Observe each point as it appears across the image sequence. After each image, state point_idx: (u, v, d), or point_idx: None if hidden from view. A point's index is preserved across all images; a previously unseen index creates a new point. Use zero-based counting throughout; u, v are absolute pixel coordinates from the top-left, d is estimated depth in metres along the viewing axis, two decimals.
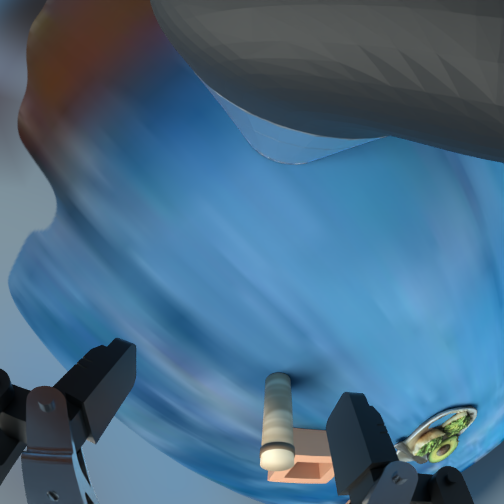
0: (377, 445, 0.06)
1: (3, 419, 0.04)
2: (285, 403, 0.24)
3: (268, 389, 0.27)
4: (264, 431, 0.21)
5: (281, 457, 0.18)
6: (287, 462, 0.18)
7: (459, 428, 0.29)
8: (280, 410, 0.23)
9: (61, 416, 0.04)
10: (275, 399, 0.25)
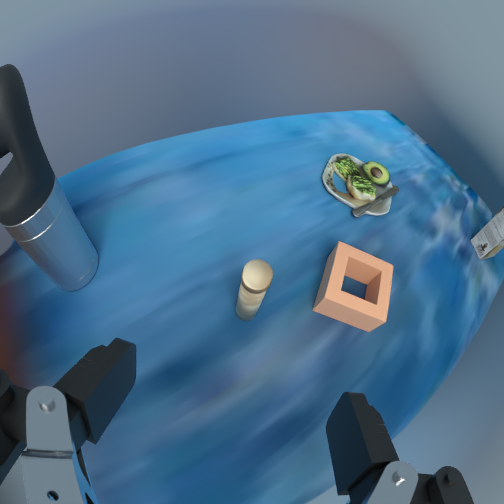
0: (377, 445, 0.06)
1: (3, 419, 0.04)
2: None
3: (239, 311, 0.35)
4: (245, 296, 0.30)
5: (244, 267, 0.28)
6: (254, 264, 0.28)
7: (348, 164, 0.55)
8: None
9: (61, 416, 0.04)
10: (237, 299, 0.34)
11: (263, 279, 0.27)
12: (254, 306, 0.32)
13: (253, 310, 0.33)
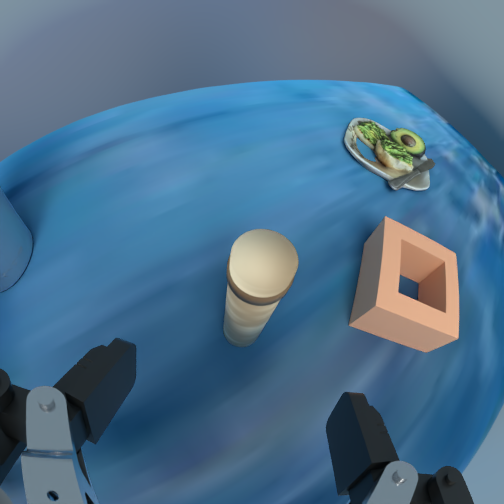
0: (377, 445, 0.06)
1: (3, 419, 0.04)
2: None
3: (228, 332, 0.19)
4: (237, 309, 0.14)
5: (234, 244, 0.12)
6: (255, 238, 0.12)
7: (374, 129, 0.39)
8: None
9: (61, 416, 0.04)
10: None
11: (277, 273, 0.12)
12: (256, 327, 0.16)
13: (254, 333, 0.18)
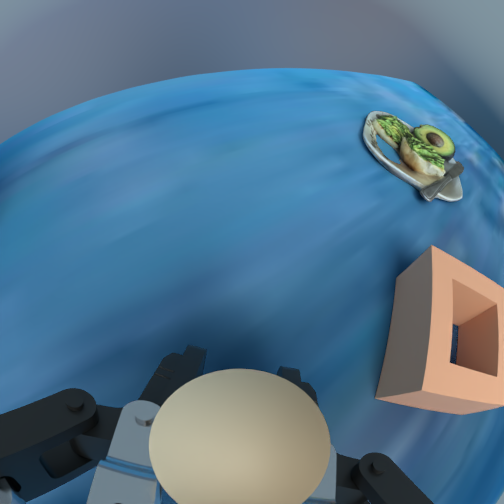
0: None
1: (87, 442, 0.05)
2: None
3: None
4: None
5: (157, 419, 0.04)
6: (215, 401, 0.04)
7: (396, 124, 0.31)
8: None
9: None
10: None
11: (273, 490, 0.03)
12: None
13: None
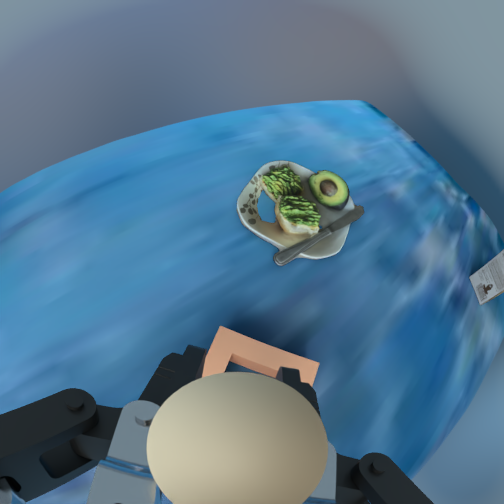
0: None
1: (87, 442, 0.05)
2: None
3: None
4: None
5: (155, 421, 0.03)
6: (212, 404, 0.04)
7: (283, 177, 0.39)
8: None
9: None
10: None
11: (271, 493, 0.03)
12: None
13: None
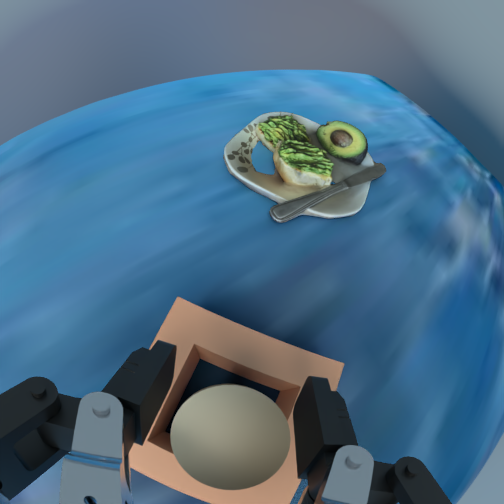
0: (333, 427, 0.06)
1: (49, 430, 0.04)
2: None
3: None
4: None
5: (176, 417, 0.06)
6: (213, 405, 0.06)
7: (285, 125, 0.30)
8: None
9: (120, 421, 0.05)
10: None
11: (251, 466, 0.05)
12: None
13: None
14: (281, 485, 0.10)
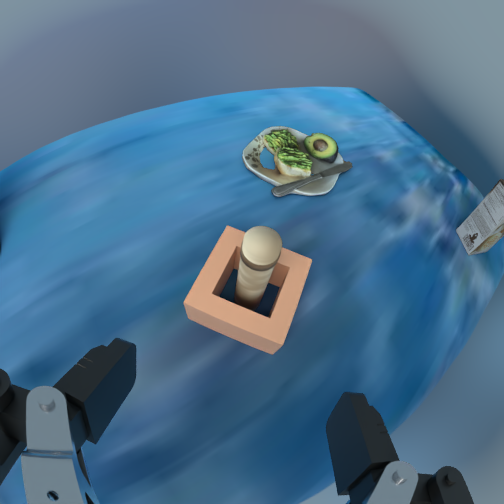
0: (377, 445, 0.06)
1: (3, 419, 0.04)
2: None
3: (238, 299, 0.28)
4: (246, 276, 0.23)
5: (245, 234, 0.21)
6: (257, 231, 0.21)
7: (282, 136, 0.45)
8: None
9: (61, 416, 0.04)
10: (236, 284, 0.27)
11: (270, 250, 0.20)
12: (257, 291, 0.25)
13: (256, 297, 0.27)
14: (282, 319, 0.25)
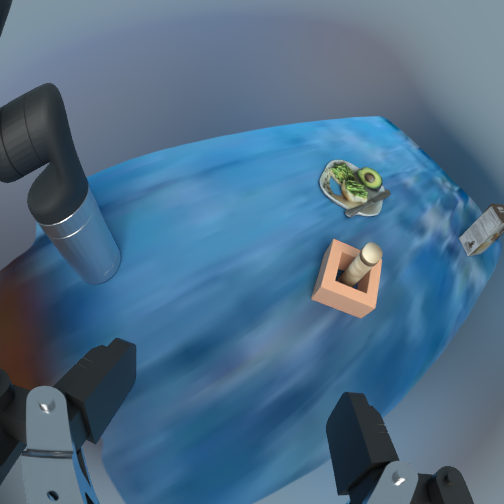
0: (377, 445, 0.06)
1: (3, 419, 0.04)
2: (347, 268, 0.43)
3: None
4: (359, 269, 0.39)
5: (365, 247, 0.37)
6: (370, 245, 0.37)
7: (343, 170, 0.61)
8: (349, 267, 0.42)
9: (61, 416, 0.04)
10: (345, 275, 0.43)
11: (377, 255, 0.37)
12: (360, 278, 0.41)
13: (356, 282, 0.43)
14: (372, 294, 0.41)
